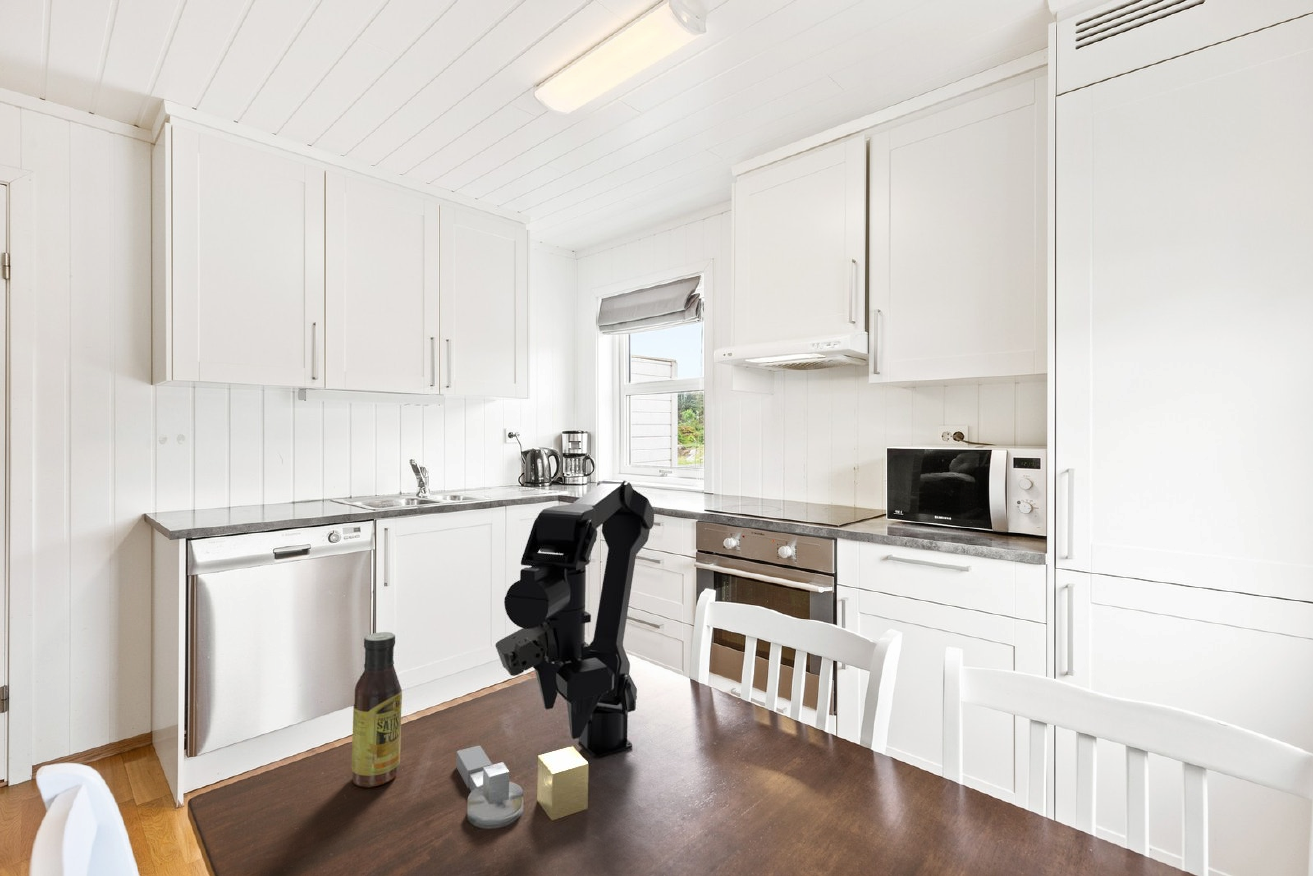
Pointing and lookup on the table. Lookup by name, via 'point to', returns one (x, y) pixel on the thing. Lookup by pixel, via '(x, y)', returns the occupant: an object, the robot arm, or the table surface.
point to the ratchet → (488, 790)
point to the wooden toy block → (562, 782)
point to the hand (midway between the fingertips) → (561, 722)
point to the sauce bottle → (377, 715)
